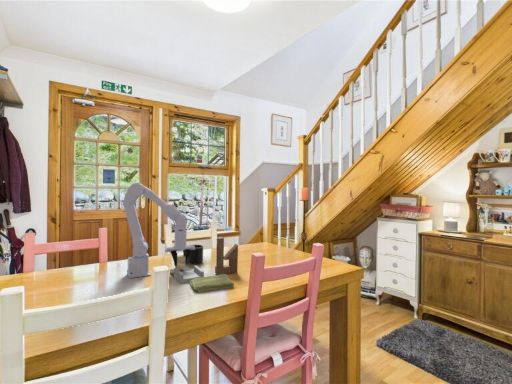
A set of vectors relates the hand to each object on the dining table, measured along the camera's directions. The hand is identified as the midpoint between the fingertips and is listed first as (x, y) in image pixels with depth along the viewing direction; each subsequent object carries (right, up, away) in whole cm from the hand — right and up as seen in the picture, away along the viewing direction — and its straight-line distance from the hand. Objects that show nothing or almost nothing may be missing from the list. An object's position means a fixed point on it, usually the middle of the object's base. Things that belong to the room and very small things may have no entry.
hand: (180, 265), depth 143 cm
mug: (+4, -3, +17) cm, 18 cm away
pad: (0, -3, 0) cm, 3 cm away
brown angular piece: (+23, -4, 0) cm, 24 cm away
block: (0, -2, 0) cm, 1 cm away
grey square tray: (+7, -4, -9) cm, 12 cm away
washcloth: (+19, -5, -18) cm, 26 cm away
